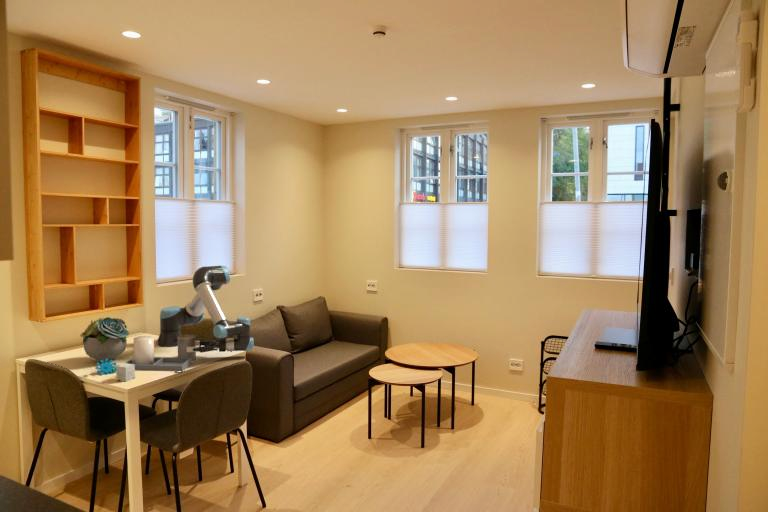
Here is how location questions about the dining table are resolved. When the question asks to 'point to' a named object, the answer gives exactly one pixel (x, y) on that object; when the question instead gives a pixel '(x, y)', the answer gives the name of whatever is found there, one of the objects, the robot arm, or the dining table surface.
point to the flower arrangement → (105, 338)
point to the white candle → (144, 350)
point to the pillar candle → (186, 342)
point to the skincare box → (125, 372)
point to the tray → (165, 364)
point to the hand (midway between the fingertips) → (187, 346)
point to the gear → (106, 367)
